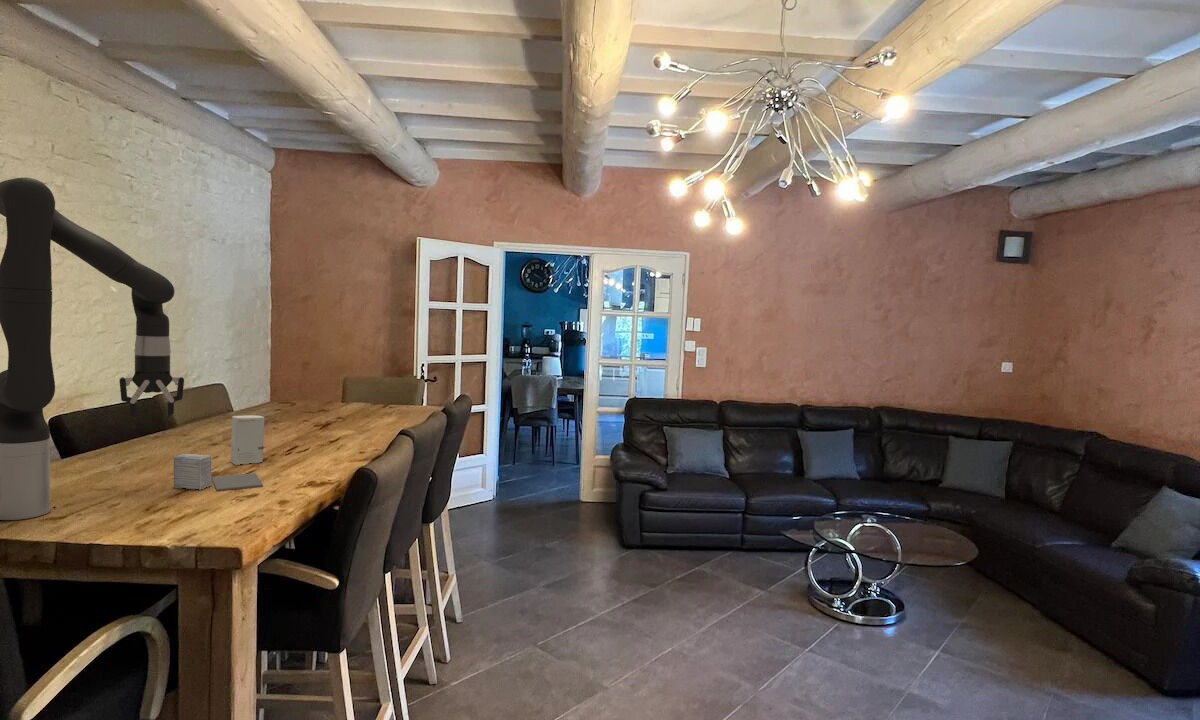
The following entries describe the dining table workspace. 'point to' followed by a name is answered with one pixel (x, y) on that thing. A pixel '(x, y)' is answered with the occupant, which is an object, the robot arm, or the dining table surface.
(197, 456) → the medicine box
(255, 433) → the skincare box
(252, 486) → the rubber mat
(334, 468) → the dining table surface
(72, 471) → the dining table surface
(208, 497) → the dining table surface
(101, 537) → the dining table surface
